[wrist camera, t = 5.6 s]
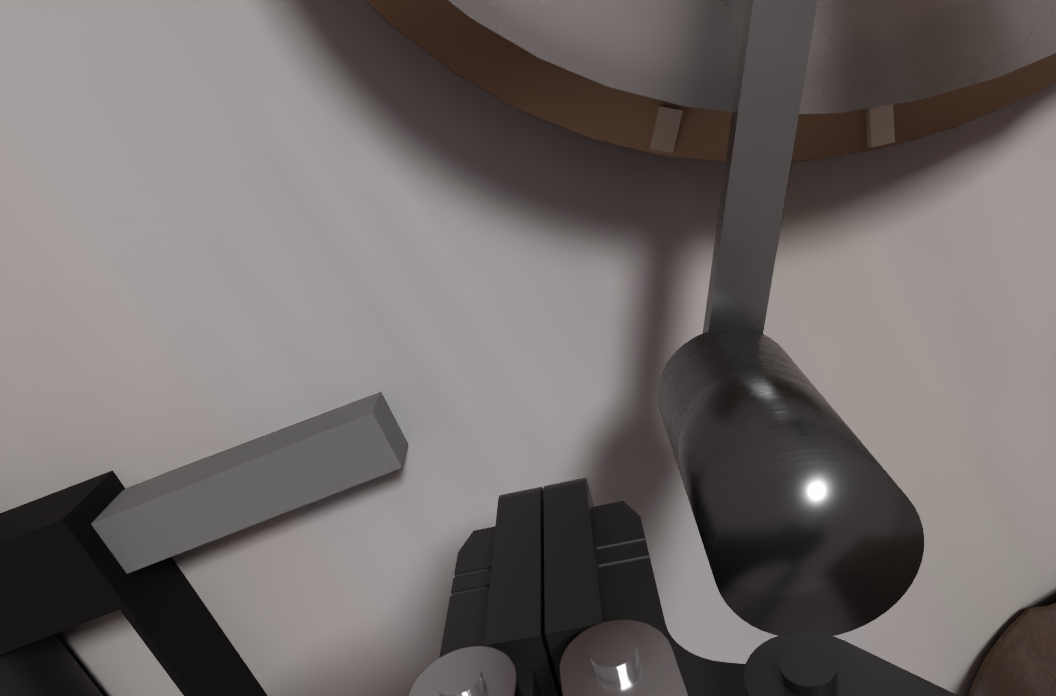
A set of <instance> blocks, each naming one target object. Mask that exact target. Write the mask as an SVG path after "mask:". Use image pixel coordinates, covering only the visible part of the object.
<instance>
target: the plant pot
mask: <svg viewBox="0 0 1056 696" xmlns="http://www.w3.org/2000/svg"><path fill="white" fill-rule="evenodd" d="M968 696H1056V603H1054V604H1051V605H1048V606H1037V607H1032V608H1028V609H1027V610H1026V611H1024V612H1023V613H1022V614H1021V615H1020V616H1019V617H1018V618H1017V619H1016V620H1015V621H1014V622H1013V623H1012V624H1011V625H1010V626H1009V627H1008V628H1007V629H1006V630H1005V632H1004V633H1003V634H1002V636H1001V637H1000V638H999V639H998V641H997V642H996V643H995V644H994V646H993V647H992V648H991V650H990V651H989V653H988V654H987V655H986V657H985V659H984V661H983V663H982V665H981V667H980V669H979V671H978V673H977V675H976V677H975V680H974V682H973V684H972V686H971V689H970V692H969V695H968Z"/></svg>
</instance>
